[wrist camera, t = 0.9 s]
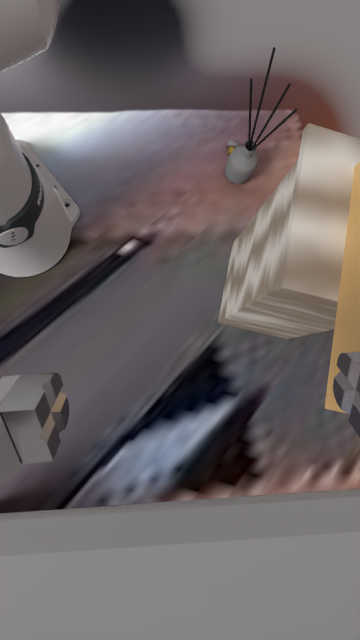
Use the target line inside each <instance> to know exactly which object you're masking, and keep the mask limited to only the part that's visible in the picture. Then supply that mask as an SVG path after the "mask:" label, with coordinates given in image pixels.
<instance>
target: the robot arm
mask: <svg viewBox="0 0 360 640" xmlns="http://www.w3.org/2000/svg"><path fill="white" fill-rule="evenodd" d="M58 5H59V0H0V73H1V72H3V71H5V70H7V69H9V68H12V67H14V66H16V65H18V64H20V63H22V62H24V61H26V60H28V59H30V58H32V57H34V56H36V55H37V54H39V53H41V52H43V51H45V50H47V49H48V47H49V44H50V42H51V40H52V37H53V34H54V30H55V26H56V21H57V16H58ZM67 204H69V205H70V206H69V207H65V206H66V205H67ZM79 216H80V209H79V208H78V206H77V205H76V203H75V202H74V201H73V200H72V198H71V197H70V196H69V195H68V194H67V192H66V191H65V190H64V189H63V187H62V186H61V185H60V184H59V182H58V181H57V180H56V179H55V177H54V176H53V175H52V174H51V172H50V171H49V170H48V169H47V167H46V166H45V165H44V164H43V162H42V161H41V160H40V159H39V157H38V156H37V155H36V154H35V152H34V151H33V150H32V149H31V147H30V146H29V145H28V144H27V143H26V142H24V141H20V140H15V138H14V136H13V135H12V133H11V131H10V129H9V127H8V125H7V123H6V121H5V119H4V118H3V116H2V115H1V113H0V273H2V274H5V275H8V276H14V277H27V276H33V275H37V274H40V273H42V272H44V271H46V270H48V269H50V268H51V267H53V266H54V265H55V264H56V263H57V262H58V261H59V260H60V259H61V258H62V257H63V255H64V254H65V252H66V250H67V248H68V245H69V242H70V236H71V231H72V227H73V226H74V225H75V223H76V222H77V220H78V218H79ZM337 366H338V368H339V369H340V372H339V373H338V374H337V375H336V376H335V377H334V382H333V392H334V397H335V400H336V402H337V404H338V406H339V407H340V409H341V410H343V411H344V412H346V413H348V414H350V417H349V422H350V424H351V425H352V427H353V428H354V430H355V431H356V433H357V434H358V436H359V437H360V351H358V352H346V353H340V355H339V357H338V360H337ZM62 386H63V383H62V380H61V377H60V375H59V374H58V373H42V374H23V375H8V376H4V377H2V378H1V379H0V487H1V486H2V485H3V484H4V483H5V482H6V481H7V480H8V479H9V478H10V477H11V476H12V475H13V474H14V473H15V472H16V471H17V470H18V469H19V468H20V467H21V464H26V463H36V462H46V461H53V460H54V457H55V454H56V452H57V449H58V447H59V444H60V438H59V434H60V433H61V432H62V431H63V430H64V429H65V428H66V425H67V423H68V417H69V404H68V400H67V396H65V395H64V394H63V393H62V392H60V390H61V388H62ZM0 640H360V489H347V490H332V491H318V492H303V493H288V494H274V495H259V496H245V497H230V498H216V499H202V500H187V501H173V502H159V503H144V504H130V505H115V506H101V507H87V508H72V509H58V510H43V511H29V512H14V513H0Z"/></svg>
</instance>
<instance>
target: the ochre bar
mask: <svg viewBox="0 0 360 640" xmlns="http://www.w3.org/2000/svg"><path fill="white" fill-rule="evenodd" d="M358 351H360V162H359V163H358V164H357V165H356V166H355V167H354V175H353V183H352V191H351V199H350V207H349V216H348V224H347V232H346V240H345V248H344V256H343V264H342V272H341V280H340V288H339V296H338V304H337V313H336V321H335V329H334V337H333V345H332V353H331V361H330V369H329V377H328V385H327V393H326V401H325V409H329V410H334V411H339V412H344V411H343V410H341V409H340V407H339V406H338V404H337V402H336V400H335V397H334V392H333V382H334V377H335V376H336V375H337V374H338V373H339V372H340V369H339V368H338V366H337V360H338V357H339V355H340V353H346V352H358ZM344 413H346V412H344Z"/></svg>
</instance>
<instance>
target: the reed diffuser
mask: <svg viewBox="0 0 360 640" xmlns="http://www.w3.org/2000/svg"><path fill="white" fill-rule="evenodd" d="M274 52H275V47H274V48H273V52H272V56H271V59H270V63H269V67H268V71H267V75H266V80H265V83H264V87H263V91H262V95H261V100H260V104H259V108H258V112H257V116H256V120H255V124H254V128H253V132H252V136H251V140H250V133H251V104H252V79H250V103H249V139H248V141H247V142H246V143H245V145H244V146H239V143H237V142H235V141H228V142H227V147H228V148H229V149H228V154H229V155H230V156H229V158H228V161H227V164H226V166H225V174H226V177H227V178H228V179H229V180H230V181H231V182H233V183H236V184H241V183H244V182H246V181H247V180H248V178H249V177H250V176H251V174H252V173H253V171H254V169H255V168H256V165H257V155H256V153H255V150H256V147H257V146H258V145H259V144H261V143H262V142H263V141H264V140H265V139H266V138H267V137H268V136H269V135H271V134H272V133H273V132H274V131H275V130H276V129H277V128H278V127H279V126H281V125H282V124H283V123H284V122H285V121H286V120H287V119H288V118H289V117H291V116H292V115H293V114H294V113H295V112H296V111H297V109H295V110H294V111H293V112H292V113H290V114H289V115H288V116H287V117H286V118H285V119H284V120H283V121H282V122H281V123H280V124H279V125H277V126H276V127H275V128H274V129H273V130H272V131H271V132H270V133H269V134H268V135H267V136H265V137H264V138H263V139H262V140H261V141H260V142H259V143H258V144H257V145H256V143H257V141H258V140H259V138H260V136H261V134H262V133H263V131H264V129H265V128H266V126H267V124H268V123H269V121H270V119H271V117H272V116H273V114H274V112H275V111H276V109H277V107H278V106H279V104H280V102H281V100H282V99H283V97H284V95H285V94H286V92H287V90H288V88H289V87H290V85H291V84H288V86H287V88H286V89H285V91H284V93H283V94H282V96H281V98H280V100H279V101H278V103H277V105H276V107H275V108H274V110H273V112H272V113H271V115H270V117H269V119H268V120H267V122H266V124H265V126H264V127H263V129H262V131H261V133H260V134H259V136H258V138H257V139H256V141H255V142H253V141H252V139H253V135H254V131H255V127H256V123H257V119H258V115H259V111H260V107H261V103H262V99H263V96H264V92H265V88H266V83H267V79H268V76H269V71H270V67H271V63H272V60H273V56H274Z"/></svg>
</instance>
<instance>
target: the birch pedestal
mask: <svg viewBox="0 0 360 640" xmlns="http://www.w3.org/2000/svg"><path fill="white" fill-rule="evenodd" d="M359 162H360V139H359V138H355V137H352V136H349V135H346V134H342V133H339V132H336V131H332V130H329V129H326V128H323V127H320V126H316V125H313V124H310V123H308V124H307V126H306V127H305V129H304V130H303V134H302V140H301V146H300V152H299V159H298V161H297V162H296V163H295V164H294V166H293V167H292V168H291V170H290V171H289V172H288V173H287V175H286V176H285V177H284V179H283V180H282V181H281V182H280V184H279V185H278V186H277V188H276V189H275V190H274V191H273V193H272V194H271V195H270V197H269V198H268V199H267V200H266V202H265V203H264V204H263V206H262V207H261V208H260V209H259V211H258V212H257V213H256V214H255V216H254V217H253V218H252V220H251V221H250V222H249V223H248V225H247V226H246V227H245V229H244V230H243V231H242V232H241V234H240V235H239V236H238V238H237V239H236V240H235V241H234V243H233V245H232V250H231V255H230V261H229V266H228V271H227V276H226V282H225V287H224V292H223V297H222V303H221V308H220V313H219V318H218V323H221V324H225V325H229V326H233V327H238V328H242V329H246V330H251V331H255V332H259V333H263V334H268V335H272V336H276V337H280V338H285V339H289V338H294V337H299V336H304V335H308V334H313V333H318V332H323V331H328V330H333V329H335V321H336V313H337V304H338V296H339V288H340V280H341V272H342V264H343V256H344V248H345V240H346V232H347V224H348V216H349V207H350V199H351V191H352V183H353V175H354V167H355V166H356V165H357V164H358V163H359Z"/></svg>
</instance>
